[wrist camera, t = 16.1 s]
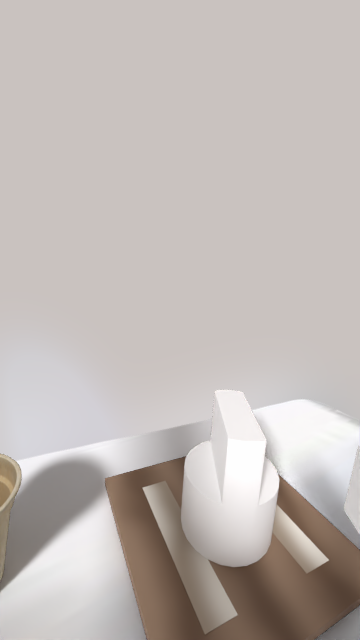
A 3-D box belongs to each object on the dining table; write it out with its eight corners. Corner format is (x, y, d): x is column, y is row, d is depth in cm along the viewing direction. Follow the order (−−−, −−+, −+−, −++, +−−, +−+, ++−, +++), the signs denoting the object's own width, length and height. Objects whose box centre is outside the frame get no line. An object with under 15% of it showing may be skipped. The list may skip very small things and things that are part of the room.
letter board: (175, 744, 15) (175, 733, 15) (105, 484, 33) (105, 478, 33) (386, 584, 24) (389, 576, 24) (241, 445, 42) (242, 440, 42)
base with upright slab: (180, 483, 33) (186, 387, 30) (257, 487, 33) (269, 392, 30) (181, 565, 24) (190, 438, 22) (286, 569, 24) (306, 444, 22)
